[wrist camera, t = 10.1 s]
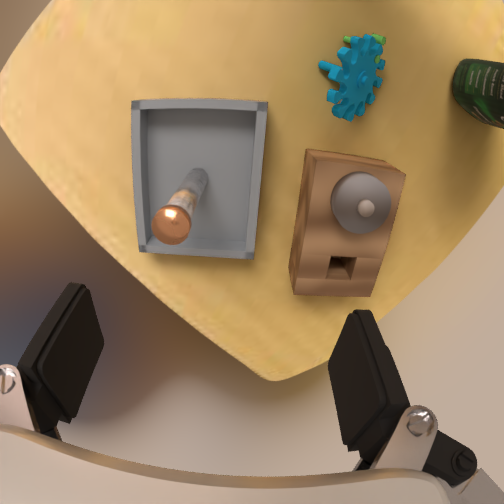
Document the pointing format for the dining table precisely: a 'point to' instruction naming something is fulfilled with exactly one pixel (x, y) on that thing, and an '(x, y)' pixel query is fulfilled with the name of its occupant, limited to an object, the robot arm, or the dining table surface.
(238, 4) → the dining table surface
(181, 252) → the tray
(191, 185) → the pin
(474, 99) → the coffee jar
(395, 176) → the tensioner block
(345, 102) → the gear
